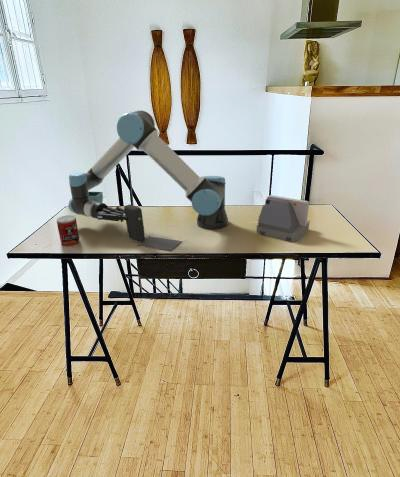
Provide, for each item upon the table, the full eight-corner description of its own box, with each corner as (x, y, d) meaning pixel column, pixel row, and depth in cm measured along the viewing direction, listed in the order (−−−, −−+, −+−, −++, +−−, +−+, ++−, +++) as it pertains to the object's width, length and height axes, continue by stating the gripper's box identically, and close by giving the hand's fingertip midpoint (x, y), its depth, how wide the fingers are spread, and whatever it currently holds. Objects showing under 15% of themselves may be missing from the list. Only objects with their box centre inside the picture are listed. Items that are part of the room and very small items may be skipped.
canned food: (62, 247, 144) (57, 223, 139) (59, 240, 150) (55, 217, 146) (81, 243, 147) (77, 219, 143) (77, 237, 154) (74, 214, 149)
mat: (181, 241, 148) (181, 241, 148) (171, 251, 139) (171, 250, 139) (149, 236, 153) (148, 235, 153) (137, 245, 145) (137, 244, 145)
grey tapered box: (314, 231, 158) (318, 199, 152) (291, 245, 144) (294, 211, 138) (274, 220, 171) (277, 191, 165) (249, 232, 158) (251, 200, 152)
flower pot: (89, 206, 193) (87, 191, 190) (104, 207, 192) (103, 191, 189) (82, 211, 185) (80, 195, 182) (98, 212, 184) (96, 196, 181)
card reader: (147, 240, 148) (142, 207, 142) (138, 243, 146) (134, 209, 140) (135, 235, 154) (131, 203, 149) (127, 238, 152) (122, 205, 146)
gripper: (108, 213, 164) (146, 222, 152) (86, 222, 154) (126, 232, 142) (106, 198, 161) (145, 206, 149) (84, 206, 151) (124, 215, 139)
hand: (136, 219), depth 146 cm, fingers closed
